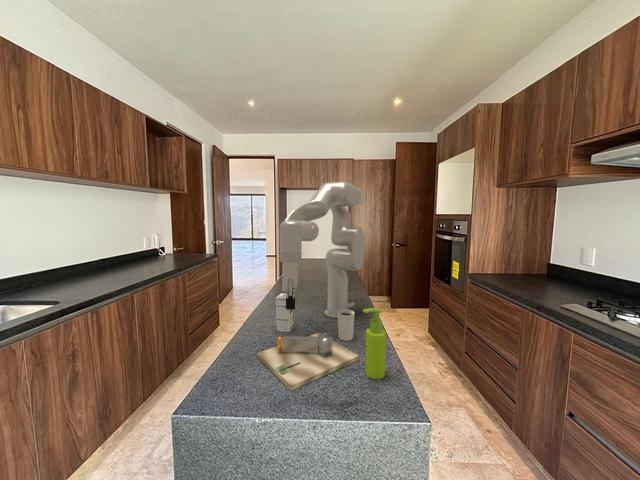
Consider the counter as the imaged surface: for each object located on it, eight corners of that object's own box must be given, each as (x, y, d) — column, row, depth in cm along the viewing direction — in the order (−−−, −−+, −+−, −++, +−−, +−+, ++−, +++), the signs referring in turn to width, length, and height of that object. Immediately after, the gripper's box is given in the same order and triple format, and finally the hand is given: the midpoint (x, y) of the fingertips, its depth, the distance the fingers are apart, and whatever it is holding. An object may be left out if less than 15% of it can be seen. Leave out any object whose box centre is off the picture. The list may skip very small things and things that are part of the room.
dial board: (318, 336, 107) (318, 332, 107) (358, 360, 89) (359, 355, 89) (257, 357, 91) (256, 352, 91) (291, 391, 74) (291, 385, 74)
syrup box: (289, 332, 110) (289, 297, 109) (276, 331, 111) (275, 296, 110) (294, 326, 116) (293, 293, 115) (280, 325, 117) (280, 292, 116)
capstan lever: (332, 346, 95) (332, 332, 94) (332, 358, 87) (332, 343, 86) (279, 345, 95) (279, 331, 95) (275, 357, 87) (274, 342, 87)
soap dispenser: (359, 368, 85) (360, 306, 83) (381, 367, 85) (382, 305, 83) (364, 379, 79) (365, 313, 77) (387, 378, 79) (389, 312, 77)
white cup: (335, 339, 104) (335, 314, 103) (339, 332, 110) (340, 308, 109) (352, 342, 102) (352, 316, 101) (356, 334, 108) (356, 310, 107)
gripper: (280, 254, 101) (280, 302, 102) (278, 260, 86) (278, 316, 88) (300, 254, 102) (300, 302, 103) (302, 260, 87) (301, 316, 88)
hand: (290, 308), depth 95 cm, fingers closed
